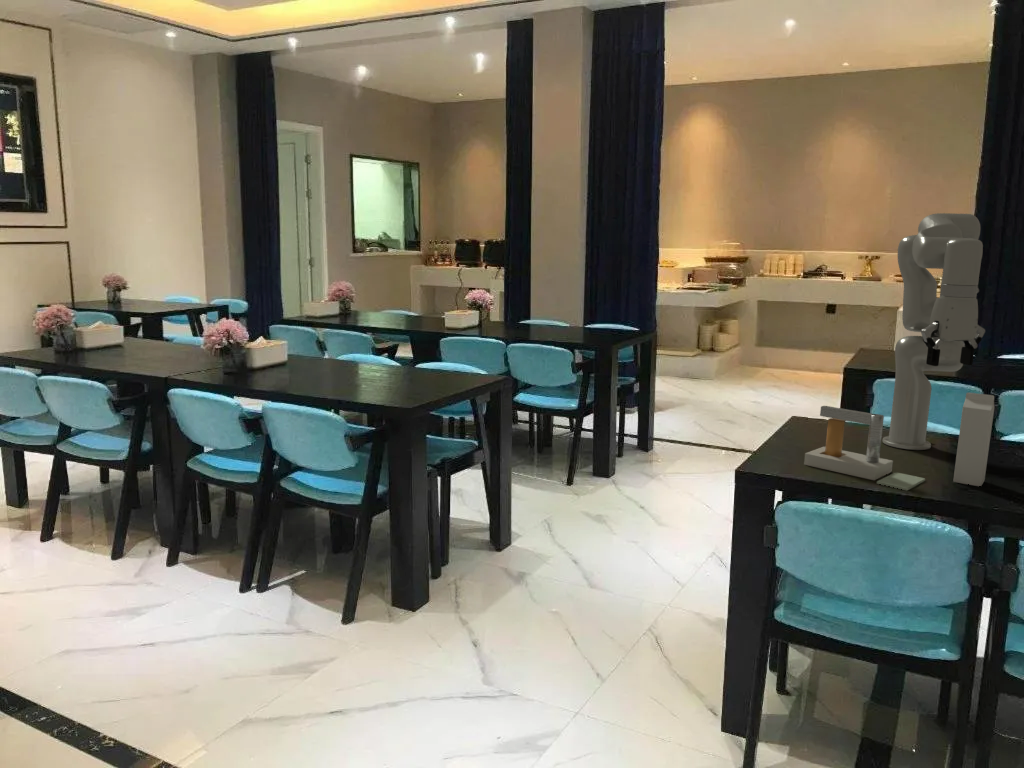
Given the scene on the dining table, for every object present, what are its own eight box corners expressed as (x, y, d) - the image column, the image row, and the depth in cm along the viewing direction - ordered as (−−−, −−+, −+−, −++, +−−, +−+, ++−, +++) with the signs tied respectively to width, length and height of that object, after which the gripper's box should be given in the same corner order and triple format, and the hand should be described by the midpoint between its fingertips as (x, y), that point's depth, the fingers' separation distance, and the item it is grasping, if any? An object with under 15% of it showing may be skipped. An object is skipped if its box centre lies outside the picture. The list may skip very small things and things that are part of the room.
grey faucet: (820, 448, 213) (825, 405, 211) (880, 461, 203) (885, 415, 200) (815, 450, 211) (820, 406, 209) (876, 463, 201) (881, 417, 198)
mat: (895, 474, 203) (895, 472, 203) (924, 480, 198) (925, 478, 198) (876, 483, 195) (876, 481, 194) (906, 490, 190) (907, 488, 190)
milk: (980, 487, 194) (993, 397, 190) (952, 482, 198) (964, 393, 194) (984, 481, 199) (996, 393, 195) (956, 476, 203) (968, 390, 198)
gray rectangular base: (822, 457, 217) (823, 446, 217) (891, 472, 205) (892, 460, 204) (804, 464, 210) (805, 453, 209) (874, 480, 197) (875, 468, 197)
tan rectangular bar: (827, 461, 213) (832, 417, 211) (842, 465, 210) (847, 420, 208) (821, 464, 210) (825, 419, 208) (836, 468, 207) (840, 422, 205)
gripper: (975, 291, 194) (966, 361, 197) (915, 291, 190) (907, 362, 193) (1001, 293, 187) (991, 366, 190) (939, 293, 183) (930, 368, 186)
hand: (949, 364), depth 192 cm, fingers open, 9 cm apart
